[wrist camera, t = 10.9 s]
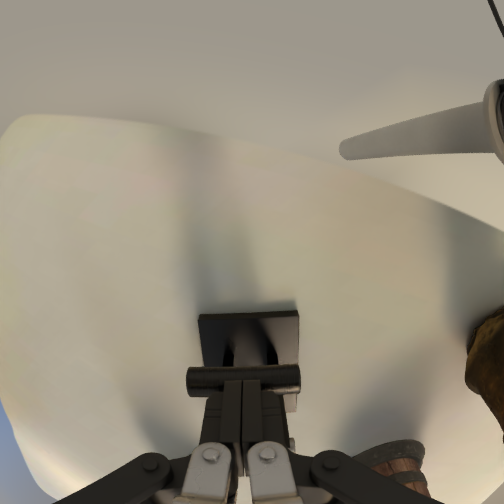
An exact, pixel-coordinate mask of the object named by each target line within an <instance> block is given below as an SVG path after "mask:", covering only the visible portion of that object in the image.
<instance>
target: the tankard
mask: <svg viewBox="0 0 504 504" xmlns="http://www.w3.org/2000/svg"><path fill="white" fill-rule="evenodd" d="M424 455H425V448H424V446H423V444H421V443H420V442H418V441H414V440H401V441H395V442H390V443H386V444H383V445H380V446H377V447H374V448H372V449H370V450H367V451H365V452H363V453H361V454H359V455H357V456H355V457H353V459H355V460H357V461H358V462H360V463H362V464H364V465H365V466H367V467H369V468H371V469H373V470H375V471H377V472H378V473H380V474H382V475H384V476H386V477H388V478H390V479H392V480H394V481H396V482H398V483H400V484H402V485H404V486H406V487H408V488H410V489H412V490H415V491H417V492H419V493H421V494H423V495H425V496H428V497H430V498H431V496H430V494H429V491H428V489H427V481H426V478H425V476H424V474H423V473H422V472H421V471H420V468H421V466H422V460H423V458H424Z"/></svg>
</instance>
